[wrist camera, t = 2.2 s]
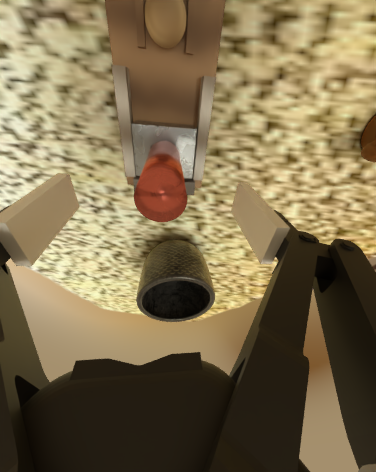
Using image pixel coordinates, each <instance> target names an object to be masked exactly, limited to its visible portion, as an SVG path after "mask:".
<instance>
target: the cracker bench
mask: <svg viewBox="0 0 376 472" xmlns="http://www.w3.org/2000/svg"><path fill="white" fill-rule="evenodd" d="M183 2H184V5H185V10H186V27H185V32H184V34H183V37H182V39H181V40H180V42H179V43H178V44H177V45H176V46H174V47H172V48H163V47H161V46H159V45H158V44H156V43H155V42H154V40H153V39H152V38H151V36H150V34H149V32H148V29H147V26H146V22H145V3H146V0H105V4H106V12H107V20H108V28H109V36H110V44H111V52H112V60H113V65H112V72H113V80H114V88H115V96H116V103H117V111H118V119H119V127H120V135H121V143H122V150H123V158H124V166H125V174H126V177H127V181H128V184H131V185H134V192H135V189H136V186H137V183H138V181H139V178H140V176H136V167H135V157H134V146H133V135H132V123H133V122H135V121H136V120H141V121H152V122H164V123H175V124H186V125H194V126H195V128H196V129H197V133H196V143H195V153H194V163H193V174H192V179H189V178H184V182H185V187H186V193H187V195H194V189H195V188H201V182H202V179H203V171H204V164H205V156H206V149H207V141H208V134H209V126H210V119H211V111H212V104H213V96H214V89H215V81H216V77H215V76H216V69H217V61H218V53H219V46H220V38H221V31H222V23H223V16H224V8H225V0H183Z"/></svg>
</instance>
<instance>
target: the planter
mask: <svg viewBox="0 0 376 472" xmlns="http://www.w3.org/2000/svg"><path fill="white" fill-rule="evenodd" d="M214 300H215V292H214V287H213V284H212V280H211V276H210V273H209V270H208V267H207V264H206V261H205V259H204V257H203V255H202V253H201V252H200V251H199V249H198V248H197V247H195V246H194V245H193V244H191V243H189V242H186V241H183V240H169V241H165V242H162V243H160V244H158V245H157V246H156V247H154V248H153V249H152V250H151V252H150V253H149V255H148V256H147V258H146V261H145V263H144V266H143V270H142V273H141V278H140V282H139V287H138V292H137V299H136V301H137V305H138V308H139V309H140V311H141V312H143V313H144V314H145V315H147V316H148V317H150V318H153V319H156V320H160V321H166V322H179V321H186V320H190V319H194V318H196V317H198V316H201V315H202V314H204V313H205V312H207V311H208V310H209V309H210V308H211V307H212V305H213V303H214Z"/></svg>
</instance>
